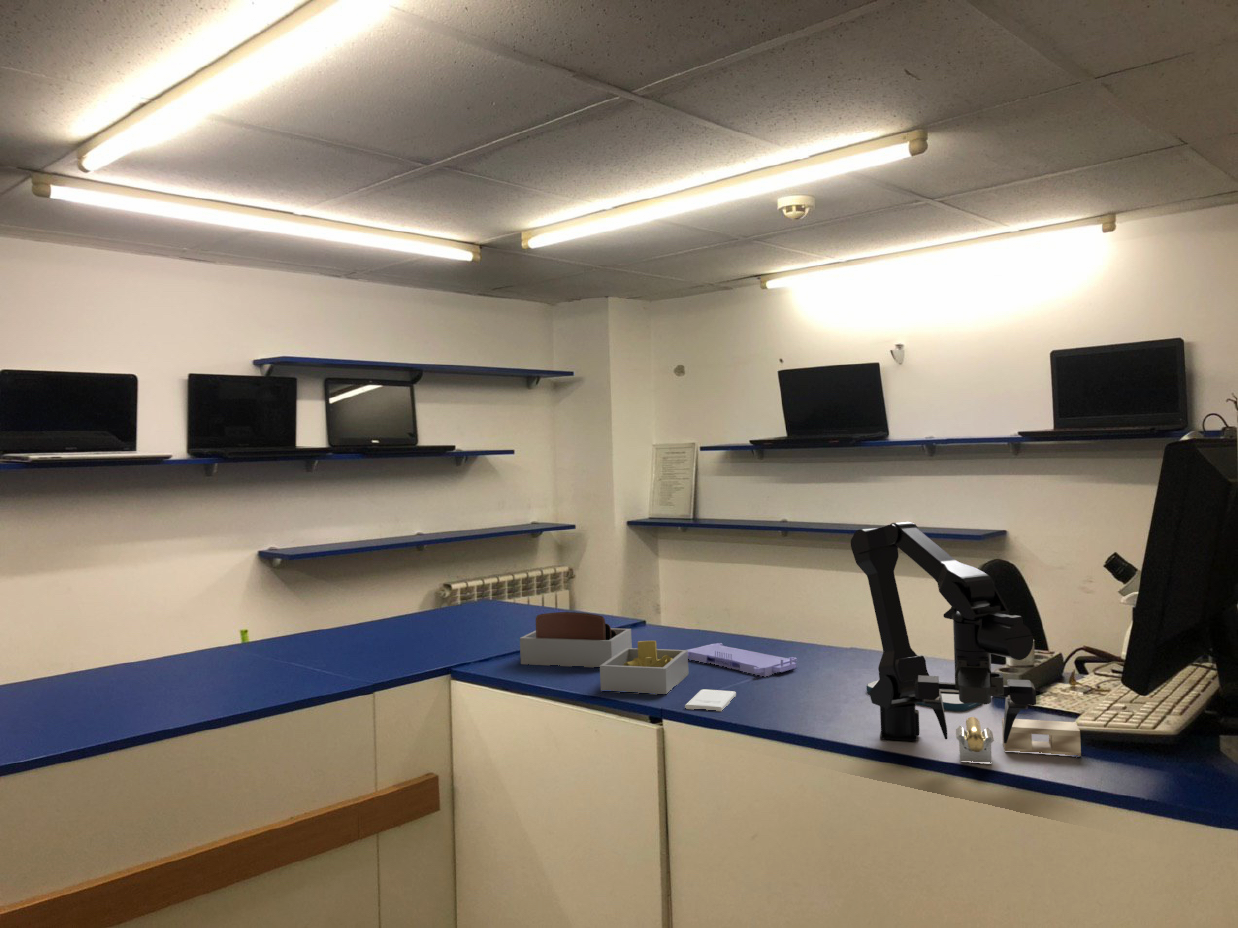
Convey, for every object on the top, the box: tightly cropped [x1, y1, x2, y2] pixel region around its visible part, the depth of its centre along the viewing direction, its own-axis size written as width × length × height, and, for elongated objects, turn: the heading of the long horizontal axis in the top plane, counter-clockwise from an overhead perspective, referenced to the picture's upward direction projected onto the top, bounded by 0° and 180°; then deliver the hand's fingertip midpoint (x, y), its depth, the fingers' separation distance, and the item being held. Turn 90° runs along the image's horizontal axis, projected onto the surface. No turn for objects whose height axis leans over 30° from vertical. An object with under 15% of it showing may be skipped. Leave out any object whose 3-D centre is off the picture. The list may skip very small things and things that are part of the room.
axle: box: [965, 716, 984, 752], centre depth 154 cm, size 2×12×2 cm, turn 161°
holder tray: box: [519, 627, 633, 668], centre depth 242 cm, size 26×16×7 cm, turn 70°
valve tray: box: [599, 647, 689, 695], centre depth 214 cm, size 16×19×6 cm
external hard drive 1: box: [684, 689, 737, 712], centre depth 195 cm, size 2×8×12 cm
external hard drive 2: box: [866, 679, 982, 712], centre depth 193 cm, size 24×12×2 cm, turn 41°
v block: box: [955, 725, 995, 763], centre depth 154 cm, size 5×6×5 cm
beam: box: [1001, 717, 1082, 757], centre depth 157 cm, size 12×5×5 cm, turn 70°
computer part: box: [687, 642, 798, 678], centre depth 229 cm, size 30×4×15 cm
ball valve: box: [623, 640, 673, 667], centre depth 215 cm, size 13×10×10 cm
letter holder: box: [535, 611, 617, 640], centre depth 240 cm, size 10×20×14 cm, turn 71°
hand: (975, 740), depth 150 cm, fingers open, 9 cm apart
